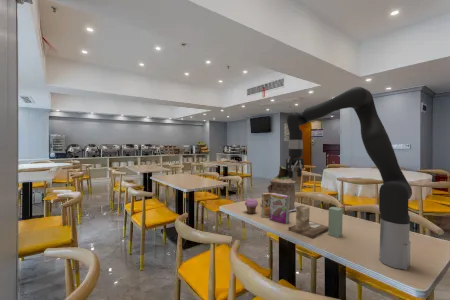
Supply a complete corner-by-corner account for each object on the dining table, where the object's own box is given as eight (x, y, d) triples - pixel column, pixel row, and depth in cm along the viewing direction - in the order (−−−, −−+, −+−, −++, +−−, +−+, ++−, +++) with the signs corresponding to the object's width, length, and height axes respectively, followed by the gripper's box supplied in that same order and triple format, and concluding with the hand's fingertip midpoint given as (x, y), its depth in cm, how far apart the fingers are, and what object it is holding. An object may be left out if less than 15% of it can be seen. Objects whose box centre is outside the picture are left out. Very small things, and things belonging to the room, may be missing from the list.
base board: (329, 229, 121) (330, 205, 120) (312, 238, 109) (313, 212, 108) (306, 222, 131) (307, 200, 131) (288, 230, 119) (289, 205, 119)
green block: (342, 235, 113) (342, 208, 113) (338, 237, 110) (338, 210, 110) (332, 232, 117) (333, 206, 117) (328, 234, 114) (328, 208, 114)
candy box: (263, 217, 140) (263, 194, 140) (261, 215, 144) (261, 192, 144) (276, 217, 141) (276, 193, 141) (273, 215, 145) (274, 192, 145)
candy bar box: (269, 219, 136) (269, 194, 135) (273, 218, 139) (273, 192, 139) (285, 224, 128) (286, 197, 128) (289, 222, 132) (290, 195, 131)
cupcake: (246, 215, 144) (247, 200, 144) (243, 211, 153) (243, 197, 153) (259, 214, 146) (259, 199, 146) (255, 210, 154) (255, 196, 154)
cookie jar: (306, 210, 158) (306, 166, 157) (279, 214, 147) (280, 167, 146) (283, 202, 180) (283, 164, 179) (258, 205, 169) (259, 164, 169)
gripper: (294, 148, 113) (293, 179, 113) (308, 148, 122) (308, 176, 122) (282, 148, 119) (281, 177, 119) (296, 148, 128) (296, 175, 128)
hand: (295, 177), depth 121 cm, fingers open, 8 cm apart
